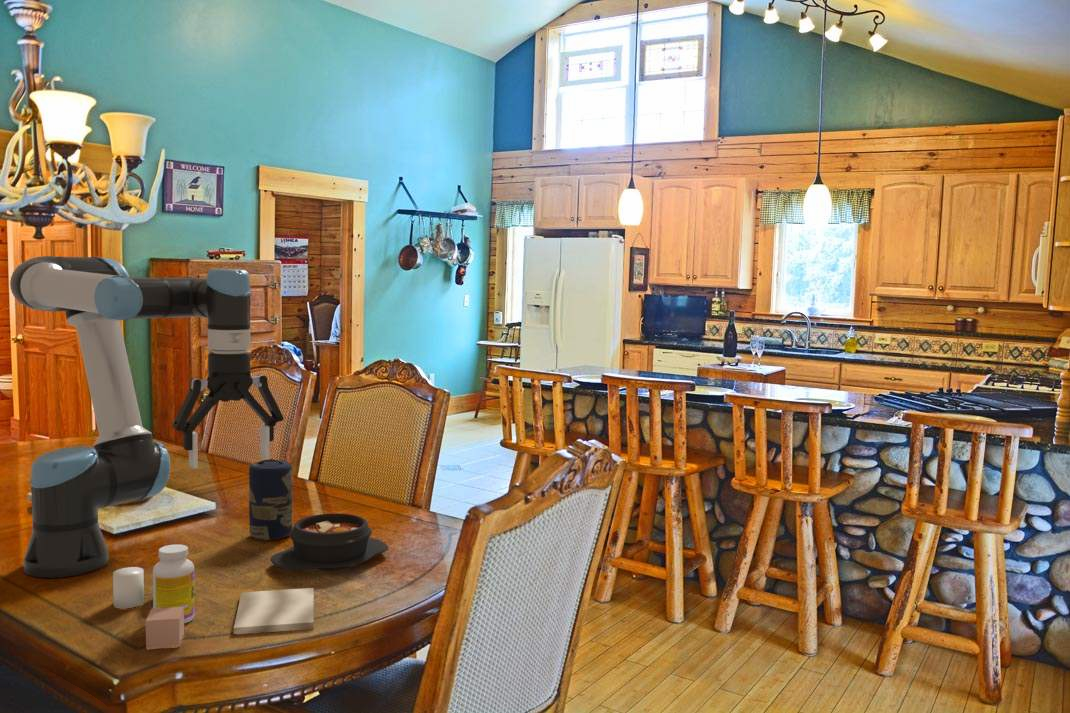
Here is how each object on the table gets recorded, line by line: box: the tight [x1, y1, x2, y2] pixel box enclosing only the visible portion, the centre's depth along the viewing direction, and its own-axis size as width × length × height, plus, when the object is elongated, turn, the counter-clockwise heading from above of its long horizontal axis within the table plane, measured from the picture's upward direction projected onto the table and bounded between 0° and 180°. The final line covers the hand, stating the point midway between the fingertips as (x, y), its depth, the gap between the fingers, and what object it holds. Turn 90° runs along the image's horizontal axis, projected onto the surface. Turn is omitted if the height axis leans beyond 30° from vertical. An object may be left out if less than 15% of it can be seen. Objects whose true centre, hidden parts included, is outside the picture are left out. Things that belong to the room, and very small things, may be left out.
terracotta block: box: [145, 607, 185, 648], centre depth 141 cm, size 5×5×5 cm
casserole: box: [270, 512, 389, 572], centre depth 181 cm, size 25×19×8 cm
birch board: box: [233, 587, 315, 635], centre depth 154 cm, size 13×16×1 cm
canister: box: [248, 458, 294, 541], centre depth 195 cm, size 10×10×18 cm
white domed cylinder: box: [112, 566, 145, 610], centre depth 156 cm, size 5×5×6 cm
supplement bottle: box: [152, 544, 196, 624], centre depth 149 cm, size 7×7×13 cm
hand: (230, 462), depth 163 cm, fingers open, 13 cm apart
